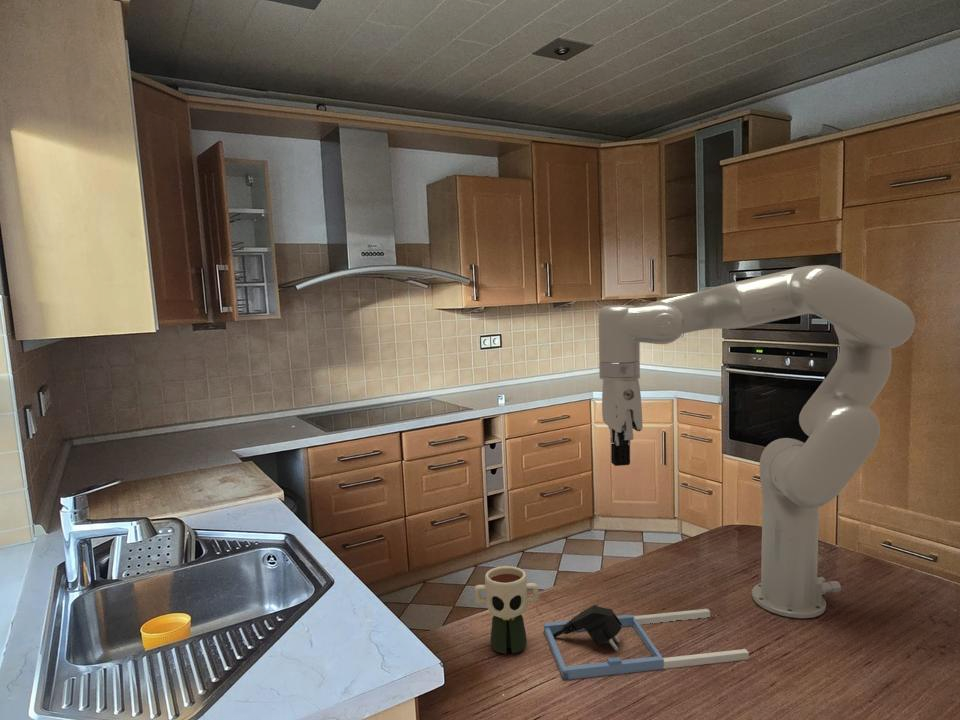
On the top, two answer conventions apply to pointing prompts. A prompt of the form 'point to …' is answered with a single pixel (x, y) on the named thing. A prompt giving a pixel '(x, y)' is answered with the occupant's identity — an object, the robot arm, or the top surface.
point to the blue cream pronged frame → (647, 663)
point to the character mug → (507, 606)
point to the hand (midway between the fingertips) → (620, 464)
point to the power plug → (595, 625)
